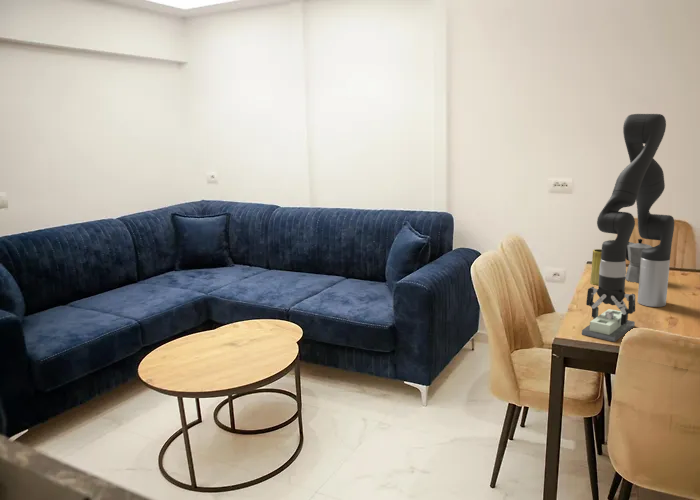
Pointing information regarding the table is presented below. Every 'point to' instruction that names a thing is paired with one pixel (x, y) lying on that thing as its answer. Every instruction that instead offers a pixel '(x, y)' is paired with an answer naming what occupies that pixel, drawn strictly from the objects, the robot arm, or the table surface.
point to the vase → (595, 266)
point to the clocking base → (614, 335)
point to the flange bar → (610, 323)
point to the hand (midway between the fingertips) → (609, 321)
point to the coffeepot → (634, 260)
